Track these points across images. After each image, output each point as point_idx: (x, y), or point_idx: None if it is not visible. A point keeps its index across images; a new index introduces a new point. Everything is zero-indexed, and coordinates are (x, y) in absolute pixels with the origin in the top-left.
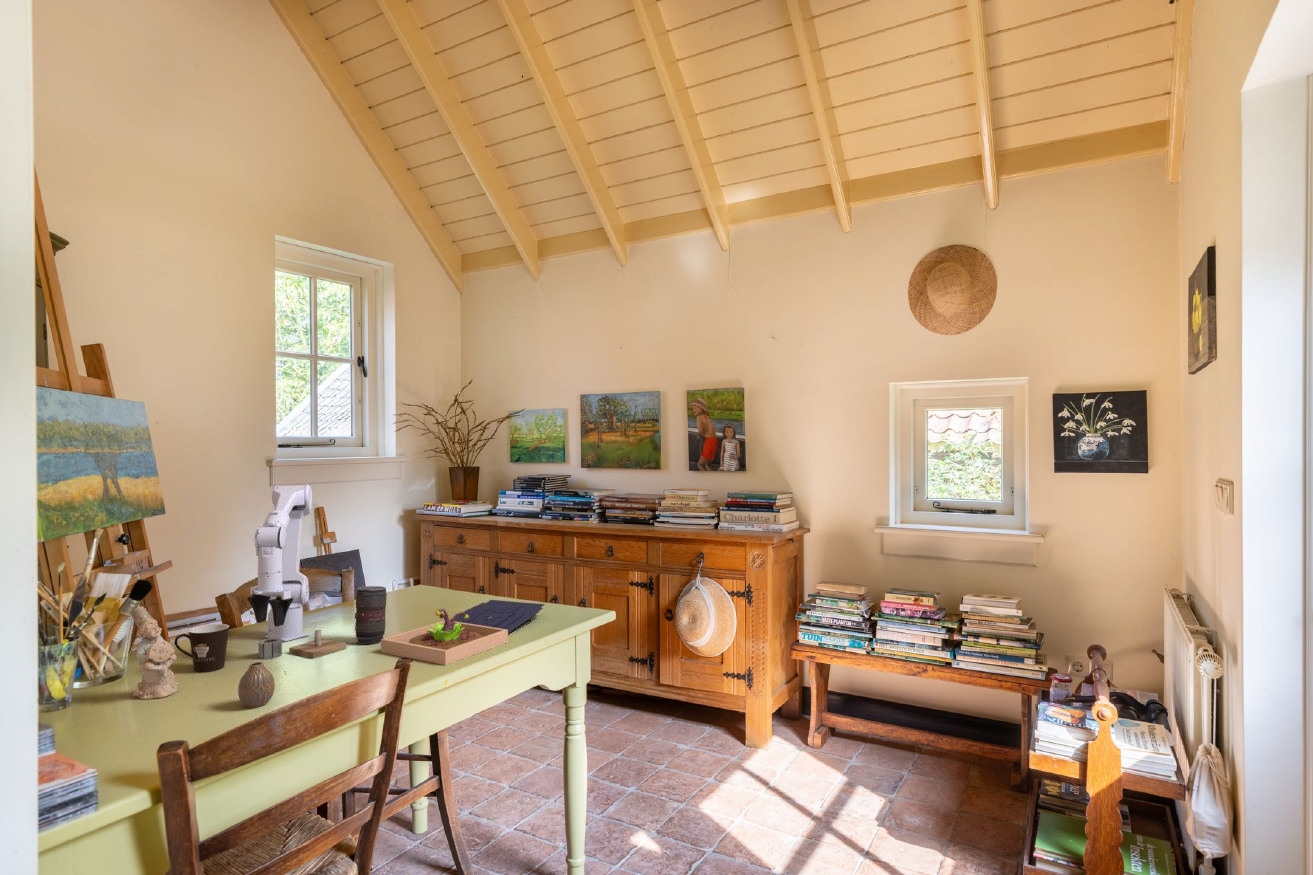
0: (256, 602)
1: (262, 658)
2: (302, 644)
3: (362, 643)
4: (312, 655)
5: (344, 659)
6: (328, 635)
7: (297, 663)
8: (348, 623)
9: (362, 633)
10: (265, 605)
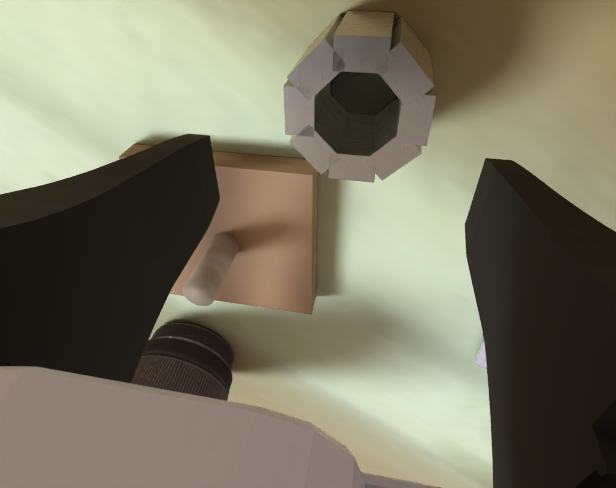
0: (575, 328)
1: (353, 12)
2: (305, 234)
3: (176, 323)
4: (132, 150)
5: (32, 183)
6: (401, 369)
7: (102, 51)
8: (458, 457)
9: (151, 351)
10: (497, 356)
